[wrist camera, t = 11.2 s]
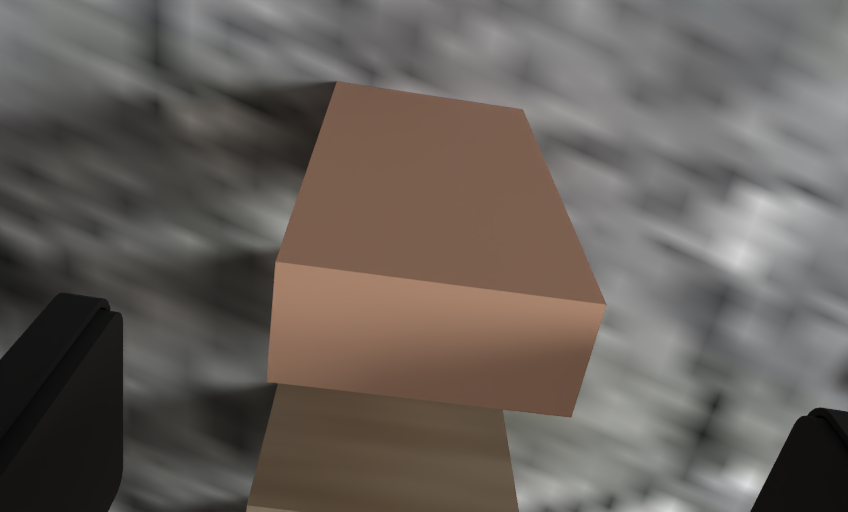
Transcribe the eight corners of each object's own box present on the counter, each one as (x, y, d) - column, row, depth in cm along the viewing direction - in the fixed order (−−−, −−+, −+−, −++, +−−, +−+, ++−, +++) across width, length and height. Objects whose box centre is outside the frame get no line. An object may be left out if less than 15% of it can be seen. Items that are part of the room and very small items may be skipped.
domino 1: (506, 184, 21) (571, 417, 13) (328, 159, 21) (266, 381, 12) (522, 109, 20) (606, 304, 12) (336, 81, 20) (275, 262, 11)
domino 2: (465, 332, 24) (496, 616, 15) (305, 309, 23) (239, 589, 14) (480, 271, 23) (523, 537, 14) (313, 246, 22) (246, 505, 13)
